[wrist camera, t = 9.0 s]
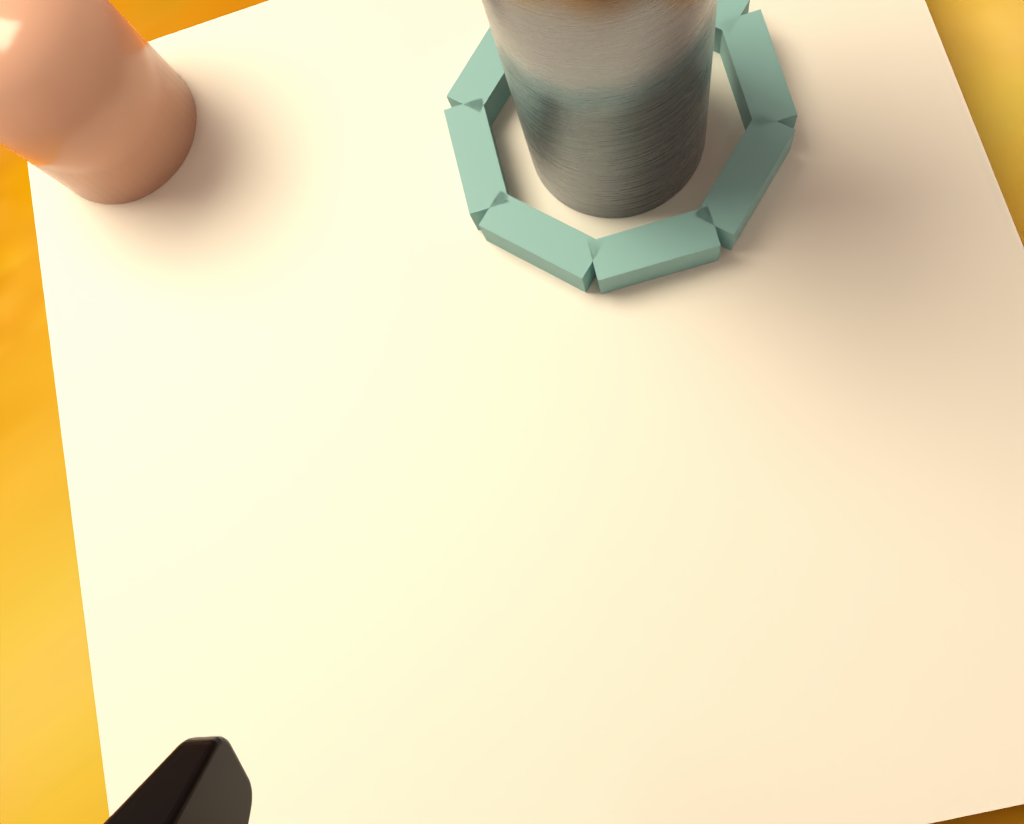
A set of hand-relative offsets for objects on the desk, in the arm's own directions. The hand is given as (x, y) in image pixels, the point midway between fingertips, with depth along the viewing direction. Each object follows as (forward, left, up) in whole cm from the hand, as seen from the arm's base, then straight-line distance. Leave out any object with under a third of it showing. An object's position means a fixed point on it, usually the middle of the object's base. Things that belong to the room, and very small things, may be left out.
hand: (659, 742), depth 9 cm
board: (+8, +2, -13) cm, 16 cm away
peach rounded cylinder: (+17, +11, -11) cm, 23 cm away
